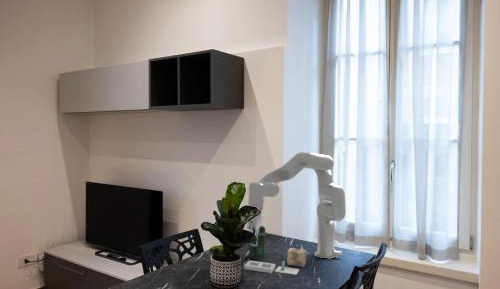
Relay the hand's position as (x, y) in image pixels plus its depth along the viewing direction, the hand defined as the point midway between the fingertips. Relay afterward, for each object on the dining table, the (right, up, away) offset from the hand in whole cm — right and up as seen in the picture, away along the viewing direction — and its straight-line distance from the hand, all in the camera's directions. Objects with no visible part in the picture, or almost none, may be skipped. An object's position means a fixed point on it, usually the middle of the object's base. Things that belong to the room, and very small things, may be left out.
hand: (254, 242), depth 178 cm
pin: (0, -2, 0) cm, 2 cm away
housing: (+23, -14, +8) cm, 28 cm away
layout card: (+17, -14, -2) cm, 22 cm away
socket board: (+3, -14, -1) cm, 14 cm away
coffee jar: (+2, -14, +17) cm, 22 cm away
